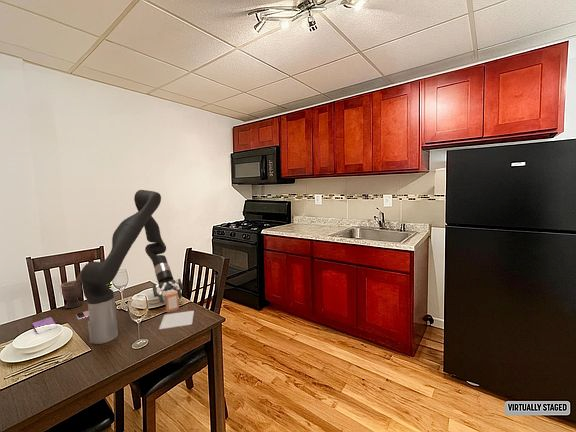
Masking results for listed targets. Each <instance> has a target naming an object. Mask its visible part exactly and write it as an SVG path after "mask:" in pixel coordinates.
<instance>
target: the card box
mask: <svg viewBox="0 0 576 432" xmlns="http://www.w3.org/2000/svg"><path fill="white" fill-rule="evenodd" d="M164 299H165V300H164V303H165V311H166V312H167V313H168V312H169V313H171V312H174V311H175V312H176V311H179V310H180V308H179V307H180V306H179V297H178V293H177V291H173V292H169V293H168V292H167V293H165V294H164ZM169 313H168V314H169Z"/></svg>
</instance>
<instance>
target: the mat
mask: <svg viewBox="0 0 576 432" xmlns="http://www.w3.org/2000/svg"><path fill="white" fill-rule="evenodd" d="M194 314H195V310H190V311H189V310H188V311H182V312H174V313H168V314H164V315H163V317H162V320H161V323H160V325H159V328H158V330H160V331H162V330H168V329H173V328H181V327H187V326H192V325H193V320H194Z"/></svg>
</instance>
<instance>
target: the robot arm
mask: <svg viewBox="0 0 576 432" xmlns="http://www.w3.org/2000/svg"><path fill="white" fill-rule="evenodd" d="M133 200H134V204H135V207H136V209H137V212H135V213H134V214H132V215H130V216H129V217H127V218H125V219H124V220H122V221H121V222H120V223H119V225H118V226H117V227H116V229H115V230H114V231H113V233H112V237H111V238H112V239H111V240H112V241H111V250H110V252H109V254H108V255H107V257H106V258H105V260H104V261H90V262H88V263H85V265H84V266H83V267H82V269H81V270H82V272H81V271H80V272H81V280H80V281H81V288H82V291H83V295H84V297H85V298H86V302H87V309H88V310H89V317H88V318H89V320H88V321H87V329H88V337H89V344H95V345H99V344H105V343H109V342H111V341H113V340H114V339H116V338H117V337H118V336H119V329H118V321H117V311H116V303H115V301H116V300H115V293H114V290H113V289H112V288H110V287H108V286H107V285H108V284H110V283H112V281H114V279H115V278H116V276H117V274H118V272H119V270H120V268H121V266H122V265H123V262H124V260H125V258H126V256H127V254H128V253H129V251H130V250H131V248H132V246H133V245H134V243H135V242H136V240H137V238H138V237H139V235H140V234H141V232H142V230H143V228H144V230H145V231H144V232H145V237H146V240H147V242H148V243H149V244H146V246H145V247H144V248H145V249H144V250H145V254H147V256H148V258H149V259H150V261H151V262H152V265H153V268H154V273H155V277H156V280H157V283H158V284H153V285H152V292H153V293H152V294H153V297H154V298H158V300H159V302H160V303H161V304H164V303H165V300H164V299H165V298H164V296H163V293H164V292H168V291H172V290H173V291H174V292H177V293H178V299H181V298H182V297H183V293H182V291H183V290H184V284H183V282H182V280H181V278H178V279H176V280H175V279H174V277H173V274H172V271H171V268H170V265H169V263H168V260H167V257H166V255H164V254H165V252H166V251H167V245H166V243H165V242H164V240H163V239H162V236H161V229H160V226H159V224H158V222H157V221H156V220H155V218H154V217H153V214H154V213H155V212H156V211H157V209H158V208H159V207H160V204H161V201H162V195H161V194H160V193H159V192H158V191H154V190H146V189H138V190H137V191H136V192H135V193H134V198H133ZM176 284H177V285H176ZM158 289H160V291H159V292H158V291H157V290H158ZM88 310H87V311H88Z"/></svg>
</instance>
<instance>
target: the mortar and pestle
mask: <svg viewBox="0 0 576 432" xmlns="http://www.w3.org/2000/svg"><path fill="white" fill-rule="evenodd" d="M81 272H82V269H81V270H80V271H79V274H78V275H77V277H76V279H75V280H72V281H66V282H63V283H62V284H60V289H61V295H62V298H63V299H64V300H65V301H67V302H66V304H65V305H64V309H65V308H72V309H75V307H76V308H79V307H80V306H82V304H83V303H82V301H81V300H79V298H80V297H81V295H82V291H83V287H82V281H81ZM72 304H73V305H72Z"/></svg>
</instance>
